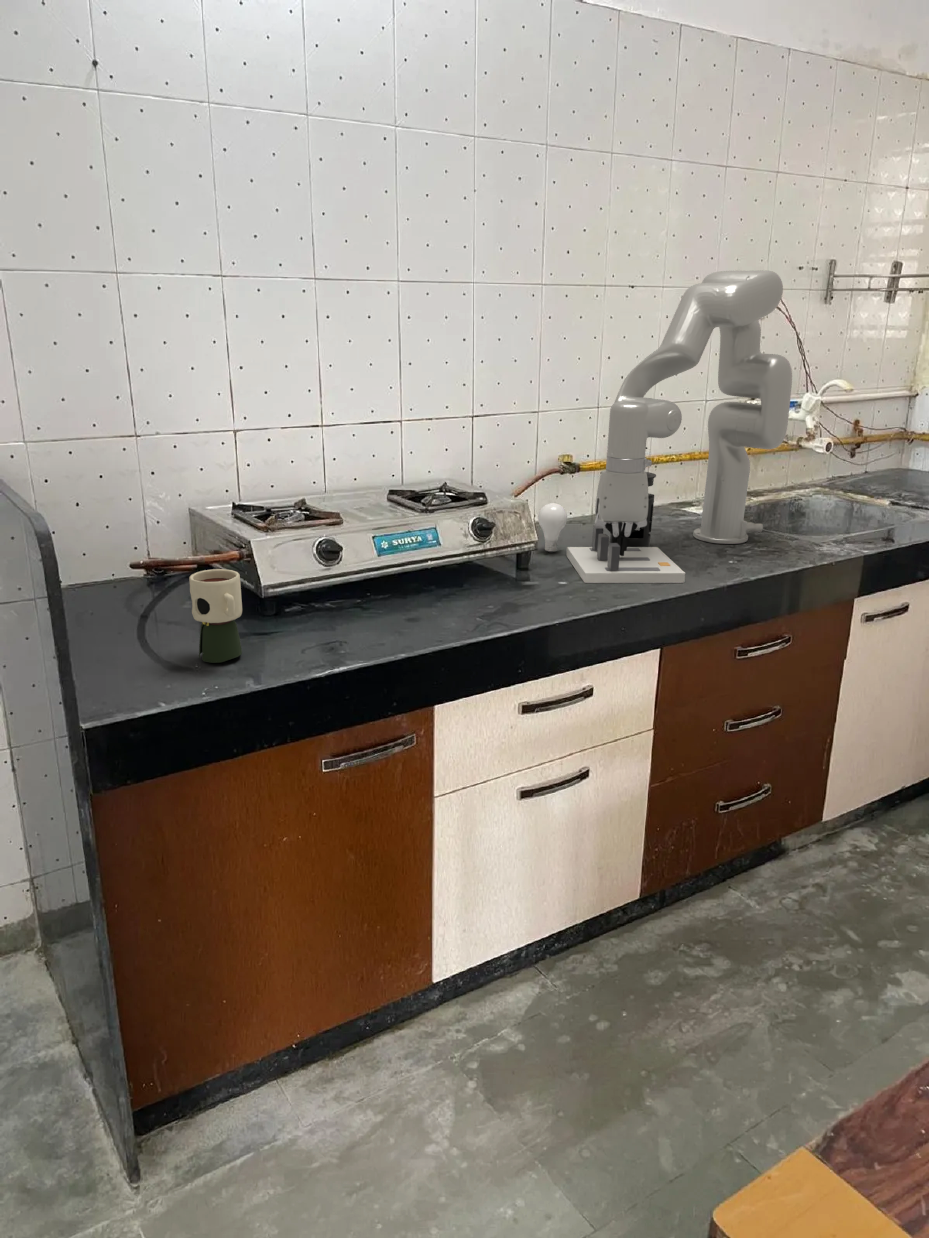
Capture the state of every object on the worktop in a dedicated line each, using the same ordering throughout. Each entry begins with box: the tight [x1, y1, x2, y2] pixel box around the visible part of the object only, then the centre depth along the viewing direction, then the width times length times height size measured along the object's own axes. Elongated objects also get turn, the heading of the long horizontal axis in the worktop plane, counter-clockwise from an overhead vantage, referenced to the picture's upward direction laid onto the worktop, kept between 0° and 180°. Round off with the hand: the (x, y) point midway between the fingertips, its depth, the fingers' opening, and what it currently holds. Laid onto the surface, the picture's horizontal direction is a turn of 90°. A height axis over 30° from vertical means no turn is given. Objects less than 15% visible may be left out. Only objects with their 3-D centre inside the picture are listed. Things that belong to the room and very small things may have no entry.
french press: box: [609, 446, 657, 547], centre depth 193 cm, size 12×9×23 cm
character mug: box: [188, 568, 243, 664], centre depth 128 cm, size 11×7×13 cm, turn 39°
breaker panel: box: [566, 546, 686, 584], centre depth 180 cm, size 20×20×2 cm
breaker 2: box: [607, 542, 620, 570], centre depth 172 cm, size 2×3×5 cm, turn 4°
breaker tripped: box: [597, 533, 610, 560], centre depth 179 cm, size 2×3×5 cm, turn 4°
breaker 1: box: [591, 524, 605, 550], centre depth 186 cm, size 2×3×5 cm, turn 4°
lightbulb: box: [537, 502, 568, 554], centre depth 190 cm, size 6×6×11 cm
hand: (618, 554), depth 180 cm, fingers closed
